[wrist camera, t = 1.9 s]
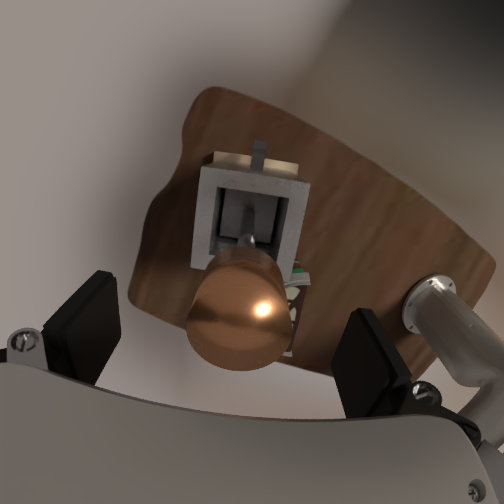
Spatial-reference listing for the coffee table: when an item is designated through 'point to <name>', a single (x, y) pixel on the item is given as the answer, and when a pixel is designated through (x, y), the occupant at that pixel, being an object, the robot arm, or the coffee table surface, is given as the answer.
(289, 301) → the food container
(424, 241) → the coffee table surface
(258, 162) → the press sleeve
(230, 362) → the plunger
